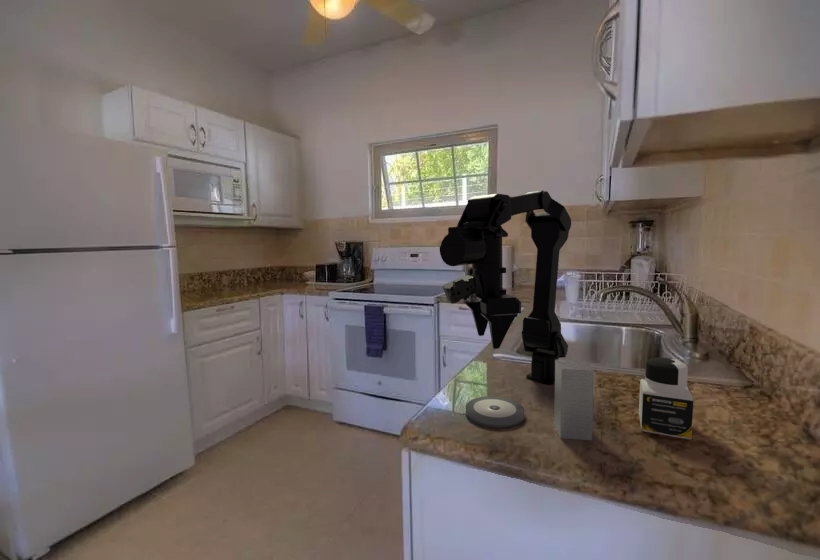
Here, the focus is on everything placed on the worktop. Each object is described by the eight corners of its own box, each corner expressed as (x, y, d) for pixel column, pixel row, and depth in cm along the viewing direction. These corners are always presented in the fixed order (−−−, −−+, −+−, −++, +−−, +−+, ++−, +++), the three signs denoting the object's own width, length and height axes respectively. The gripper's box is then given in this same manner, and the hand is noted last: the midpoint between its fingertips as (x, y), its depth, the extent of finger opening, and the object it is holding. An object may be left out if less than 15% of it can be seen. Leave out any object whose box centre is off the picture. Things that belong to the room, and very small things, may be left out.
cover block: (554, 424, 69) (555, 359, 68) (583, 426, 68) (585, 360, 67) (560, 438, 64) (561, 369, 63) (591, 440, 63) (593, 370, 62)
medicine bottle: (641, 431, 66) (643, 363, 65) (638, 414, 72) (641, 352, 71) (691, 440, 63) (695, 369, 62) (684, 422, 69) (688, 357, 68)
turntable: (491, 397, 81) (491, 391, 81) (536, 415, 73) (536, 409, 72) (453, 412, 75) (453, 405, 75) (498, 434, 66) (498, 427, 66)
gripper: (436, 260, 81) (438, 332, 83) (457, 268, 63) (459, 360, 65) (487, 258, 83) (488, 329, 84) (522, 265, 64) (522, 355, 66)
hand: (488, 341), depth 75 cm, fingers open, 9 cm apart
